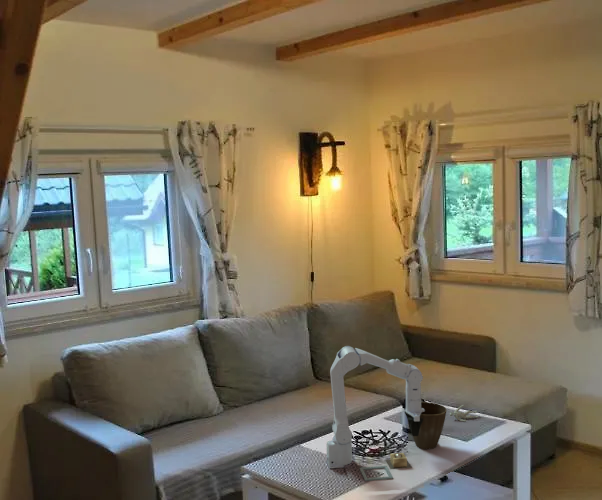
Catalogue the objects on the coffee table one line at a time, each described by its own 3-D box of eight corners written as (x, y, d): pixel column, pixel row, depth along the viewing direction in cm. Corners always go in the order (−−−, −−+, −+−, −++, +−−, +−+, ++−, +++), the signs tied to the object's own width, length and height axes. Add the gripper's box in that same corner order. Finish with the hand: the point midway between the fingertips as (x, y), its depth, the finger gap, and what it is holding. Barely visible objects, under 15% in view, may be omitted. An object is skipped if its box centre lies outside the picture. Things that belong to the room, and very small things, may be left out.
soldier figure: (479, 423, 307) (456, 418, 303) (473, 427, 310) (450, 423, 306) (476, 406, 312) (453, 401, 308) (470, 411, 315) (447, 406, 311)
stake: (390, 471, 258) (390, 459, 258) (385, 462, 266) (385, 451, 266) (411, 470, 259) (411, 458, 259) (406, 461, 267) (406, 449, 267)
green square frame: (365, 483, 249) (365, 479, 249) (359, 471, 259) (359, 467, 259) (393, 481, 250) (393, 477, 250) (386, 469, 260) (386, 465, 260)
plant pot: (431, 438, 289) (431, 400, 287) (453, 451, 275) (454, 411, 274) (400, 444, 283) (400, 405, 281) (421, 457, 269) (421, 417, 267)
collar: (393, 467, 260) (393, 459, 259) (390, 461, 265) (390, 453, 264) (406, 466, 260) (406, 458, 260) (403, 460, 265) (403, 452, 265)
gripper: (427, 404, 259) (428, 440, 260) (420, 391, 273) (421, 425, 275) (408, 405, 259) (409, 440, 260) (402, 392, 273) (402, 426, 275)
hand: (413, 433), depth 268 cm, fingers open, 5 cm apart
